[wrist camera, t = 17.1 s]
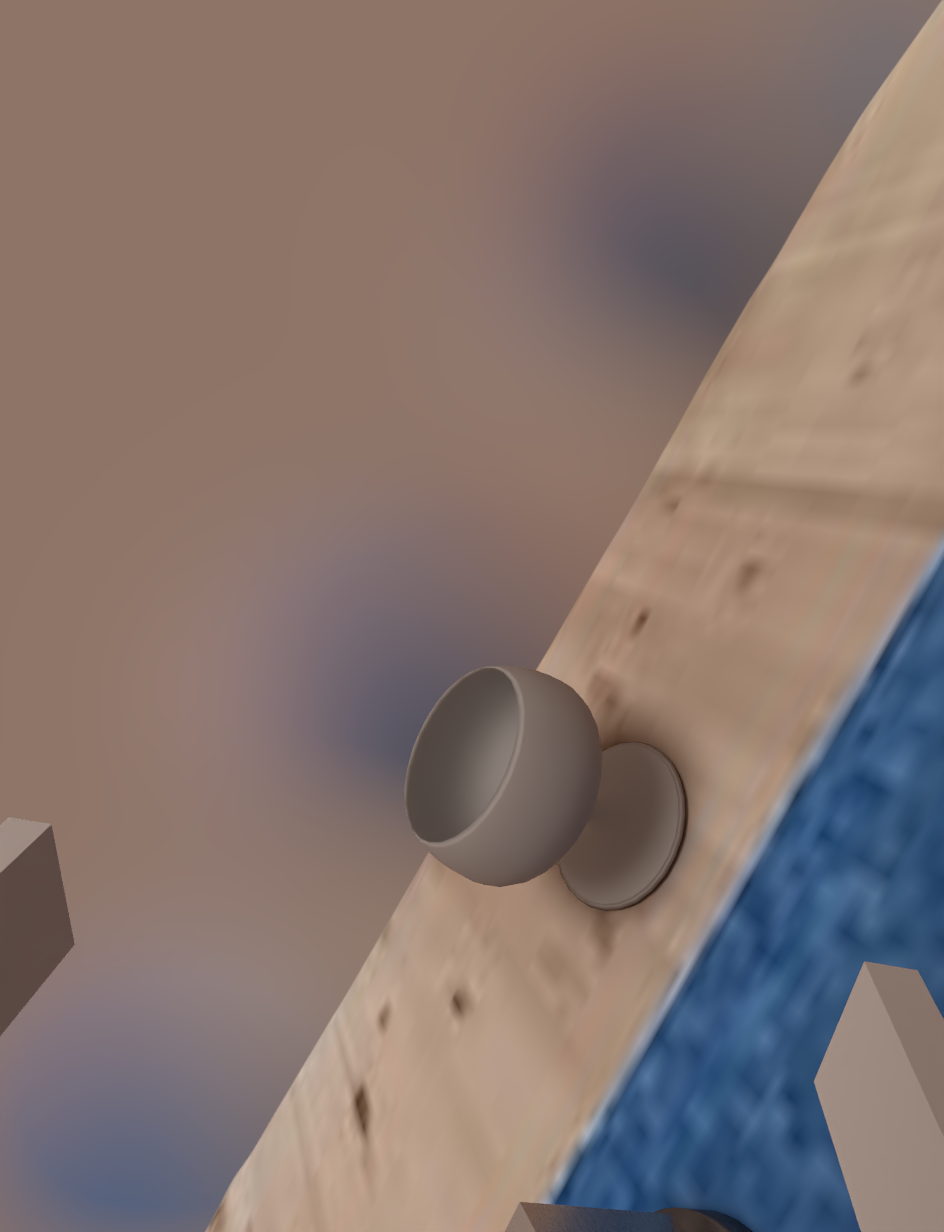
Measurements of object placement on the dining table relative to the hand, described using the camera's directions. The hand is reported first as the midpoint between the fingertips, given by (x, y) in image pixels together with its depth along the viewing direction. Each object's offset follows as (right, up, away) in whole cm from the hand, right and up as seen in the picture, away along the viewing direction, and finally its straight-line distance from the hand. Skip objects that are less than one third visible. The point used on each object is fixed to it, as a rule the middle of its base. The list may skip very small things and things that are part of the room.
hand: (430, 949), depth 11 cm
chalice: (+12, -10, +39) cm, 42 cm away
